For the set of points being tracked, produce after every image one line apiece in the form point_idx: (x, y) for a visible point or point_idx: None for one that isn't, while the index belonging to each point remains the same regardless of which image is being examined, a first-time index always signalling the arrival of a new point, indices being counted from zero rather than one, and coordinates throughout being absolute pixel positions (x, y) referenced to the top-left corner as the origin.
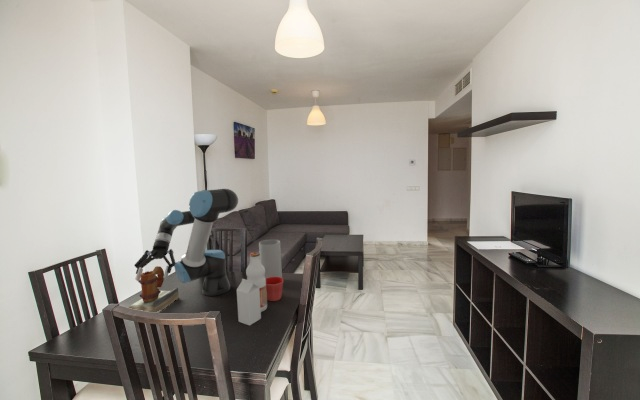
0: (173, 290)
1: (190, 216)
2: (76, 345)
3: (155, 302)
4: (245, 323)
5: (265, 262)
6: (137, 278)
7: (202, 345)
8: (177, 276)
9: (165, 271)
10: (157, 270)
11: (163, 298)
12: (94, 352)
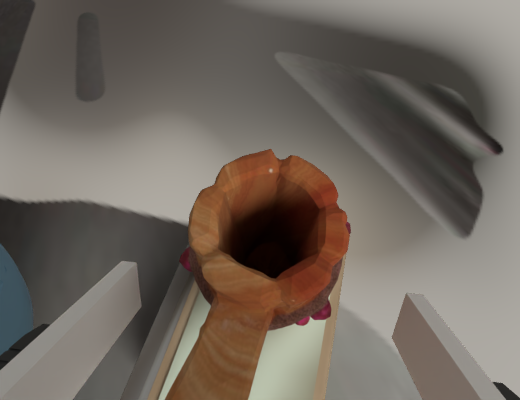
0: (143, 351)
1: None
2: (381, 95)
3: None
4: None
5: None
6: (409, 308)
7: (80, 52)
8: (12, 329)
9: (77, 314)
10: (185, 363)
11: (189, 245)
12: (311, 67)
